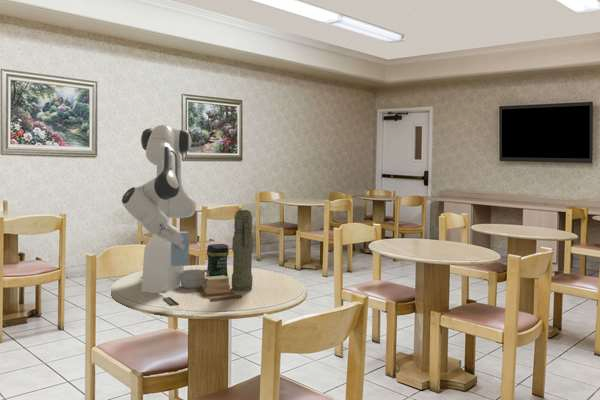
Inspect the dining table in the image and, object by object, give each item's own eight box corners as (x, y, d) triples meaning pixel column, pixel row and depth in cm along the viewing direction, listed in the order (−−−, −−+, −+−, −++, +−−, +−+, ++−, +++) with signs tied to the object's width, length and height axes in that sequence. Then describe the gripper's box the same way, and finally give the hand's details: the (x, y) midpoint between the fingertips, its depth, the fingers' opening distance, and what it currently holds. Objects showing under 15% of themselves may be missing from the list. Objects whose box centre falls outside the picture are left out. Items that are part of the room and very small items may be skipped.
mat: (163, 299, 210) (163, 297, 210) (187, 296, 216) (187, 295, 216) (170, 305, 202) (170, 303, 202) (195, 302, 207) (195, 301, 207)
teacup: (185, 293, 221) (186, 274, 221) (175, 287, 230) (175, 269, 230) (215, 289, 230) (216, 271, 229) (204, 284, 238) (205, 266, 238)
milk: (180, 288, 230) (181, 228, 228) (167, 294, 219) (167, 232, 217) (156, 285, 233) (156, 227, 232) (141, 291, 222) (142, 230, 220)
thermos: (237, 295, 220) (238, 212, 217) (227, 289, 230) (229, 209, 228) (256, 293, 224) (258, 211, 222) (246, 287, 234) (248, 209, 232)
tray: (195, 293, 220) (195, 288, 220) (224, 290, 227) (224, 285, 227) (211, 304, 205) (211, 298, 205) (241, 300, 212) (241, 295, 212)
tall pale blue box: (170, 264, 208) (171, 232, 207) (185, 263, 211) (186, 231, 210) (173, 266, 205) (174, 233, 204) (188, 265, 208) (189, 232, 207)
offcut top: (204, 284, 220) (204, 277, 220) (224, 282, 225) (224, 275, 224) (208, 286, 216) (208, 279, 216) (228, 284, 220) (228, 277, 220)
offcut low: (202, 291, 220) (202, 284, 220) (225, 289, 225) (225, 282, 225) (207, 294, 216) (207, 287, 216) (229, 291, 221) (229, 284, 221)
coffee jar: (211, 287, 232) (212, 245, 231) (203, 284, 238) (204, 243, 237) (230, 285, 238) (231, 244, 237) (222, 281, 244) (222, 242, 243)
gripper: (171, 219, 194) (196, 244, 200) (155, 214, 211) (178, 237, 217) (159, 232, 192) (184, 257, 198) (144, 226, 209) (168, 249, 215)
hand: (181, 247), depth 208 cm, fingers closed on tall pale blue box, 3 cm apart
